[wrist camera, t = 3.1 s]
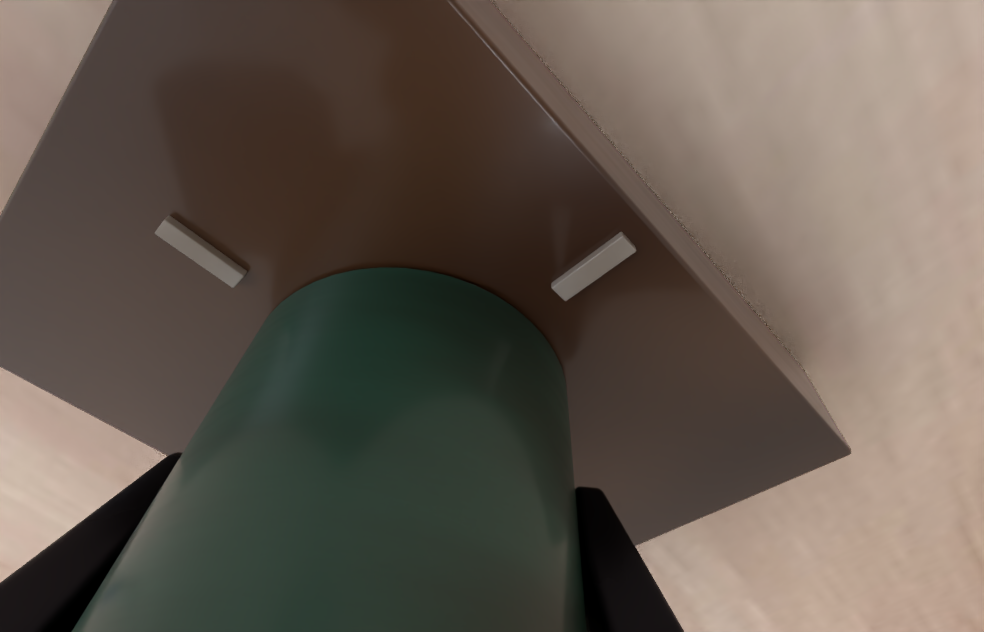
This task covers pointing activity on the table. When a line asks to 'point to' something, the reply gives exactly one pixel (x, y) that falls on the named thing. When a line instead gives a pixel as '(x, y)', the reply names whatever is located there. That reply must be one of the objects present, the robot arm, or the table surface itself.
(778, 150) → the table surface
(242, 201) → the dial knob base plate
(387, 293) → the rotary knob
